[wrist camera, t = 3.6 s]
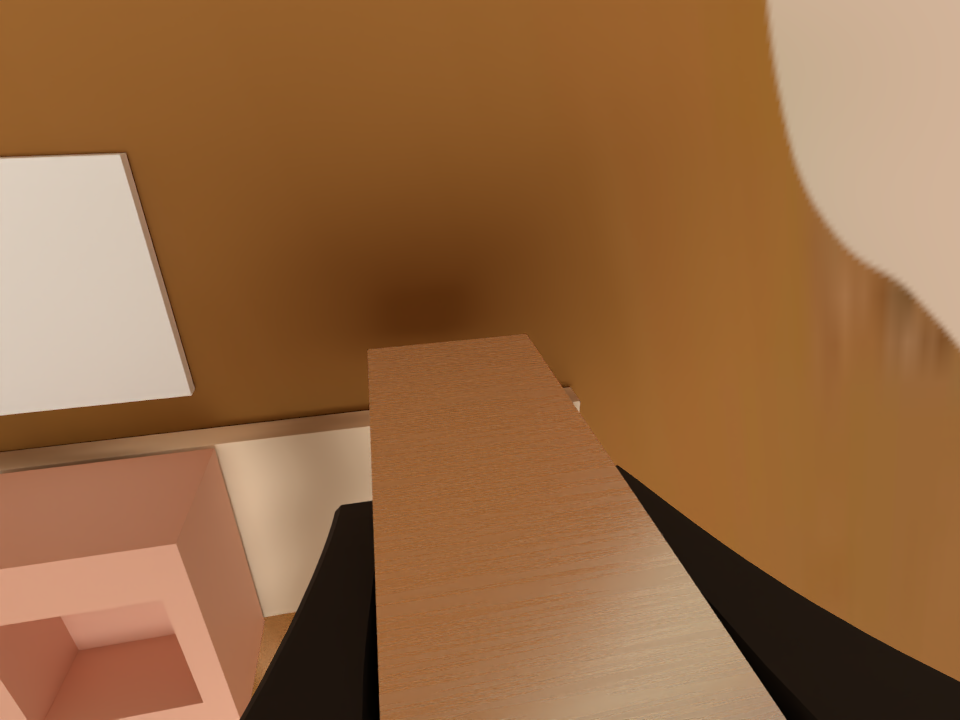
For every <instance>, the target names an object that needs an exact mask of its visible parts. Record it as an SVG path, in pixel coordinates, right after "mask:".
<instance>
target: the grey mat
mask: <svg viewBox="0 0 960 720" xmlns="http://www.w3.org/2000/svg"><path fill="white" fill-rule="evenodd" d="M194 390H195V387H194V384H193V381H192V377H191V374H190V370H189V367H188V364H187V360H186V357H185V353H184V350H183V346H182V343H181V340H180V336H179V333H178V329H177V326H176V323H175V319H174V316H173V312H172V309H171V305H170V302H169V299H168V295H167V292H166V288H165V285H164V282H163V278H162V275H161V271H160V268H159V264H158V261H157V258H156V254H155V251H154V247H153V244H152V241H151V237H150V234H149V230H148V227H147V224H146V220H145V217H144V213H143V210H142V206H141V203H140V200H139V196H138V193H137V189H136V186H135V183H134V179H133V176H132V172H131V169H130V165H129V162H128V159H127V155H126V153H105V154H76V155H47V156H19V157H0V415H9V414H18V413H28V412H37V411H47V410H57V409H66V408H76V407H85V406H95V405H105V404H114V403H124V402H133V401H143V400H152V399H162V398H172V397H181V396H191V395H192V394H193V392H194Z"/></svg>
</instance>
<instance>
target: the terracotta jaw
mask: <svg viewBox="0 0 960 720" xmlns="http://www.w3.org/2000/svg"><path fill="white" fill-rule="evenodd" d="M264 622H265V621H264V618H263V614H262V611H261V607H260V604H259V601H258V597H257V594H256V590H255V587H254V583H253V580H252V577H251V573H250V570H249V566H248V563H247V559H246V556H245V552H244V549H243V546H242V542H241V539H240V535H239V532H238V528H237V525H236V522H235V518H234V515H233V511H232V508H231V504H230V501H229V497H228V494H227V491H226V487H225V484H224V480H223V477H222V473H221V470H220V466H219V463H218V460H217V456H216V453H215V449H214V448H212V449H204V450H195V451H187V452H179V453H170V454H162V455H154V456H145V457H137V458H129V459H120V460H112V461H104V462H95V463H87V464H79V465H70V466H62V467H54V468H45V469H37V470H29V471H20V472H12V473H4V474H0V720H239V719H240V718H241V716H242V714H243V713H244V711H245V709H246V707H247V706H248V704H249V702H250V700H251V695H252V690H253V684H254V678H255V673H256V667H257V661H258V656H259V650H260V644H261V639H262V633H263V628H264Z"/></svg>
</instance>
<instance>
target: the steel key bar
mask: <svg viewBox="0 0 960 720" xmlns="http://www.w3.org/2000/svg"><path fill="white" fill-rule="evenodd" d="M367 351H368V380H369V410H370V439H371V469H372V498H373V527H374V557H375V586H376V616H377V645H378V674H379V704H380V720H786V718H785V717H784V715H783V714H782V712H781V711H780V709H779V708H778V706H777V705H776V703H775V702H774V700H773V699H772V697H771V696H770V695H769V693H768V692H767V690H766V689H765V687H764V686H763V684H762V683H761V681H760V680H759V678H758V677H757V675H756V674H755V672H754V671H753V669H752V668H751V666H750V665H749V663H748V662H747V660H746V659H745V657H744V656H743V654H742V653H741V651H740V650H739V649H738V647H737V646H736V644H735V643H734V641H733V640H732V638H731V637H730V635H729V634H728V632H727V631H726V629H725V628H724V626H723V625H722V623H721V622H720V620H719V619H718V617H717V616H716V614H715V613H714V611H713V610H712V608H711V607H710V606H709V604H708V603H707V601H706V600H705V598H704V597H703V595H702V594H701V592H700V591H699V589H698V588H697V586H696V585H695V583H694V582H693V580H692V579H691V577H690V576H689V574H688V573H687V571H686V570H685V568H684V567H683V565H682V564H681V562H680V561H679V560H678V558H677V557H676V555H675V554H674V552H673V551H672V549H671V548H670V546H669V545H668V543H667V542H666V540H665V539H664V537H663V536H662V534H661V533H660V531H659V530H658V528H657V527H656V525H655V524H654V522H653V521H652V519H651V518H650V517H649V515H648V514H647V512H646V511H645V509H644V508H643V506H642V505H641V503H640V502H639V500H638V499H637V497H636V496H635V494H634V493H633V491H632V490H631V488H630V487H629V485H628V484H627V482H626V481H625V479H624V478H623V476H622V475H621V473H620V472H619V471H618V469H617V468H616V466H615V465H614V463H613V462H612V460H611V459H610V457H609V456H608V454H607V453H606V451H605V450H604V448H603V447H602V445H601V444H600V442H599V441H598V439H597V438H596V436H595V435H594V433H593V432H592V430H591V429H590V427H589V426H588V425H587V423H586V422H585V420H584V419H583V417H582V416H581V414H580V413H579V411H578V410H577V408H576V407H575V405H574V404H573V402H572V401H571V399H570V398H569V396H568V395H567V393H566V392H565V390H564V389H563V387H562V386H561V384H560V383H559V382H558V380H557V379H556V377H555V376H554V374H553V373H552V371H551V370H550V368H549V367H548V365H547V364H546V362H545V361H544V359H543V358H542V356H541V355H540V353H539V352H538V350H537V349H536V347H535V346H534V344H533V343H532V341H531V340H530V338H529V337H528V336H527V334H520V335H510V336H500V337H489V338H479V339H469V340H458V341H448V342H438V343H427V344H417V345H407V346H396V347H386V348H376V349H367Z"/></svg>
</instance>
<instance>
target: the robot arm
mask: <svg viewBox="0 0 960 720" xmlns="http://www.w3.org/2000/svg"><path fill="white" fill-rule="evenodd" d="M616 468H617V469H618V471H619V472H620V473H621V475H622V476H623V478H624V479H625V481H626V482H627V484H628V485H629V487H630V488H631V490H632V491H633V493H634V494H635V496H636V497H637V499H638V500H639V502H640V503H641V505H642V506H643V508H644V509H645V511H646V512H647V514H648V515H649V517H650V518H651V519H652V521H653V522H654V524H655V525H656V527H657V528H658V530H659V531H660V533H661V534H662V536H663V537H664V539H665V540H666V542H667V543H668V545H669V546H670V548H671V549H672V551H673V552H674V554H675V555H676V557H677V558H678V560H679V561H680V562H681V564H682V565H683V567H684V568H685V570H686V571H687V573H688V574H689V576H690V577H691V579H692V580H693V582H694V583H695V585H696V586H697V588H698V589H699V591H700V592H701V594H702V595H703V597H704V598H705V600H706V601H707V603H708V604H709V606H710V607H711V608H712V610H713V611H714V613H715V614H716V616H717V617H718V619H719V620H720V622H721V623H722V625H723V626H724V628H725V629H726V631H727V632H728V634H729V635H730V637H731V638H732V640H733V641H734V643H735V644H736V646H737V647H738V649H739V650H740V651H741V653H742V654H743V656H744V657H745V659H746V660H747V662H748V663H749V665H750V666H751V668H752V669H753V671H754V672H755V674H756V675H757V677H758V678H759V680H760V681H761V683H762V684H763V686H764V687H765V689H766V690H767V692H768V693H769V695H770V696H771V697H772V699H773V700H774V702H775V703H776V705H777V706H778V708H779V709H780V711H781V712H782V714H783V715H784V717H785V718H786V720H960V682H959V681H957V680H955V679H953V678H951V677H949V676H947V675H945V674H943V673H941V672H939V671H937V670H935V669H933V668H931V667H929V666H927V665H925V664H923V663H922V662H920V661H918V660H916V659H914V658H912V657H910V656H908V655H906V654H904V653H902V652H900V651H898V650H896V649H894V648H892V647H891V646H889V645H887V644H885V643H883V642H881V641H879V640H877V639H876V638H874V637H872V636H870V635H868V634H866V633H865V632H863V631H861V630H859V629H858V628H856V627H854V626H852V625H851V624H849V623H847V622H846V621H844V620H842V619H840V618H839V617H837V616H835V615H833V614H832V613H830V612H828V611H826V610H825V609H823V608H821V607H819V606H818V605H816V604H814V603H813V602H811V601H809V600H808V599H806V598H805V597H803V596H801V595H800V594H798V593H796V592H795V591H793V590H792V589H790V588H788V587H787V586H785V585H784V584H782V583H781V582H779V581H778V580H776V579H775V578H773V577H772V576H770V575H769V574H767V573H765V572H764V571H762V570H761V569H759V568H758V567H756V566H755V565H753V564H752V563H750V562H749V561H747V560H746V559H744V558H743V557H741V556H740V555H739V554H737V553H736V552H734V551H733V550H731V549H730V548H728V547H727V546H726V545H724V544H723V543H721V542H720V541H718V540H717V539H716V538H714V537H713V536H712V535H710V534H709V533H707V532H706V531H705V530H703V529H702V528H700V527H699V526H698V525H696V524H695V523H694V522H692V521H691V520H690V519H688V518H687V517H686V516H684V515H683V514H682V513H680V512H679V511H678V510H676V509H675V508H674V507H672V506H671V505H670V504H668V503H667V502H666V501H664V500H663V499H662V498H660V497H659V496H658V495H657V494H655V493H654V492H653V491H651V490H650V489H649V488H647V487H646V486H645V485H643V484H642V483H641V482H640V481H638V480H637V479H636V478H634V477H633V476H632V475H630V474H629V473H628V472H626V471H625V470H623V469H622V468H621V467H619V466H618V465H617V466H616ZM239 720H380V704H379V674H378V645H377V616H376V586H375V557H374V527H373V501H366V502H359V503H352V504H345V505H341V506H340V507H339V508H338V509H337V510H336V511H335V514H334V517H333V521H332V525H331V528H330V531H329V534H328V537H327V540H326V543H325V545H324V548H323V551H322V553H321V556H320V558H319V561H318V563H317V566H316V568H315V571H314V573H313V576H312V578H311V580H310V582H309V585H308V587H307V589H306V591H305V594H304V596H303V598H302V600H301V602H300V605H299V607H298V609H297V611H296V614H295V616H294V618H293V620H292V622H291V624H290V626H289V628H288V630H287V632H286V634H285V636H284V638H283V640H282V642H281V644H280V646H279V648H278V650H277V652H276V654H275V655H274V657H273V659H272V661H271V663H270V665H269V667H268V669H267V671H266V673H265V675H264V677H263V679H262V681H261V682H260V684H259V686H258V688H257V690H256V691H255V693H254V695H253V697H252V698H251V700H250V702H249V704H248V706H247V707H246V709H245V711H244V713H243V714H242V716H241V718H240V719H239Z"/></svg>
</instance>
